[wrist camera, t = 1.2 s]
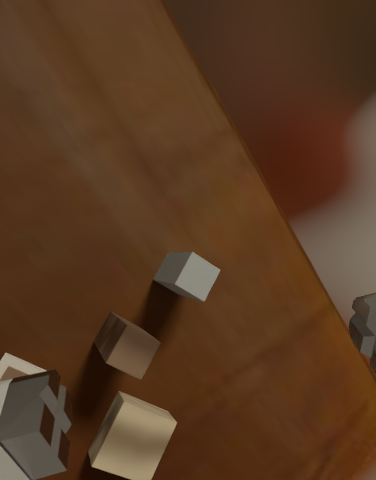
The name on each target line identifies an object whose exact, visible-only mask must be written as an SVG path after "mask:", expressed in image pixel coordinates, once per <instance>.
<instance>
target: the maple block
mask: <svg viewBox="0 0 376 480" xmlns="http://www.w3.org/2000/svg"><path fill="white" fill-rule="evenodd" d="M176 424H177V422H176V421H175V420H174V418H173V417H172V416H171V415H170V413H169V412H168V411H166V410H164V409H161V408H159V407H156V406H154V405H152V404H149V403H147V402H144V401H142V400H140V399H137V398H135V397H132V396H130V395H127V394H125V393H123V392H120V391H118V393H117V395H116V396H115V398H114V400H113V402H112V404H111V406H110V408H109V410H108V412H107V414H106V416H105V418H104V420H103V422H102V424H101V426H100V428H99V430H98V432H97V434H96V436H95V438H94V440H93V442H92V444H91V446H90V448H89V450H88V453H89V457H90V462H91V466H92V467H94V468H97V469H100V470H103V471H106V472H109V473H112V474H116V475H119V476H122V477H125V478H128V479H131V480H151V479H152V477H153V474H154V472H155V470H156V468H157V466H158V463H159V461H160V459H161V457H162V455H163V453H164V450H165V448H166V446H167V444H168V442H169V439H170V437H171V435H172V433H173V431H174V428H175V426H176Z"/></svg>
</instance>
